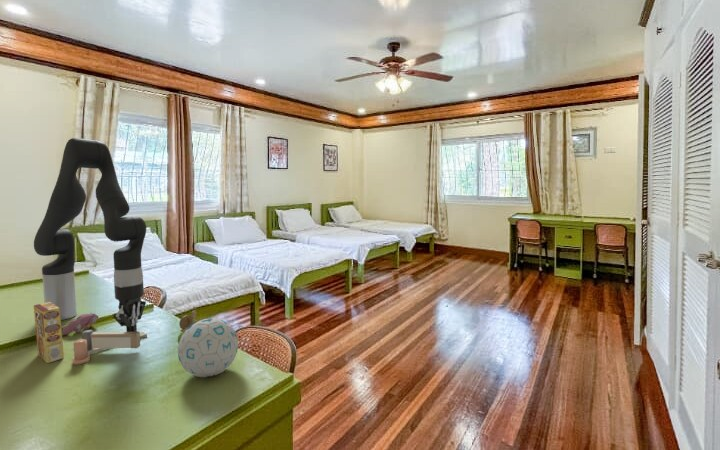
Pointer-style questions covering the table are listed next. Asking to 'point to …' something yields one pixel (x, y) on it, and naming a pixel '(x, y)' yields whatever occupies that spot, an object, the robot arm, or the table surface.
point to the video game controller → (80, 323)
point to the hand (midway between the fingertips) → (131, 336)
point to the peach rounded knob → (80, 352)
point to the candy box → (48, 332)
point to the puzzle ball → (207, 347)
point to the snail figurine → (186, 323)
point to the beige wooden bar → (111, 339)
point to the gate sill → (95, 350)
